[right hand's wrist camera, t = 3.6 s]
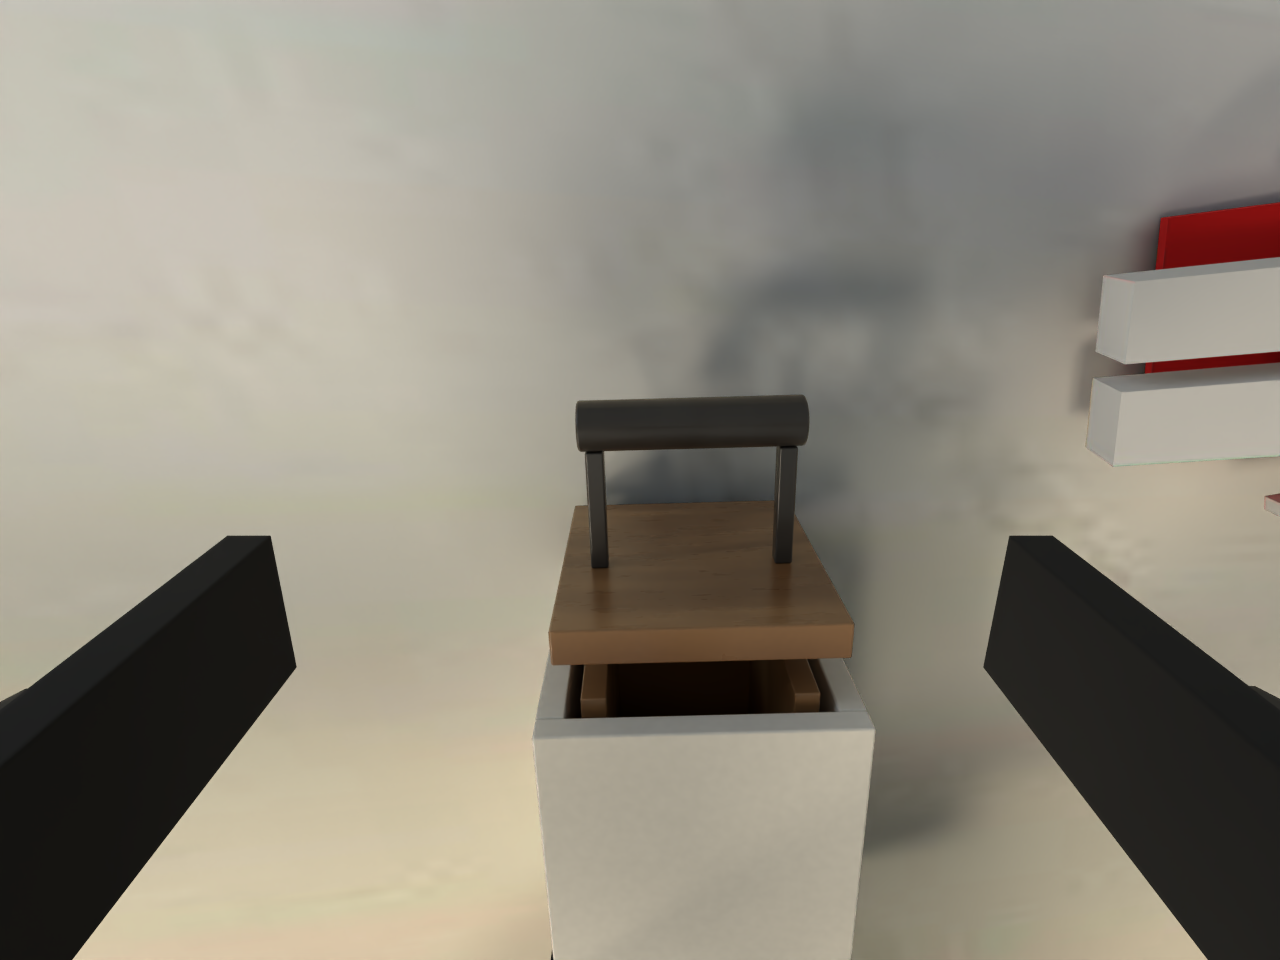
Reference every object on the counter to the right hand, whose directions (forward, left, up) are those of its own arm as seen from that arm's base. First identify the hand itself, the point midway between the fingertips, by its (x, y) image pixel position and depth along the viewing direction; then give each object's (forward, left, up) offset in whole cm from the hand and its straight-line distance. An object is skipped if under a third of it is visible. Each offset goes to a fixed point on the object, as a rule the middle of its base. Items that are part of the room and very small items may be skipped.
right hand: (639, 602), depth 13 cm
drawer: (-7, -9, -16) cm, 20 cm away
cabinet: (-11, -14, -17) cm, 25 cm away
